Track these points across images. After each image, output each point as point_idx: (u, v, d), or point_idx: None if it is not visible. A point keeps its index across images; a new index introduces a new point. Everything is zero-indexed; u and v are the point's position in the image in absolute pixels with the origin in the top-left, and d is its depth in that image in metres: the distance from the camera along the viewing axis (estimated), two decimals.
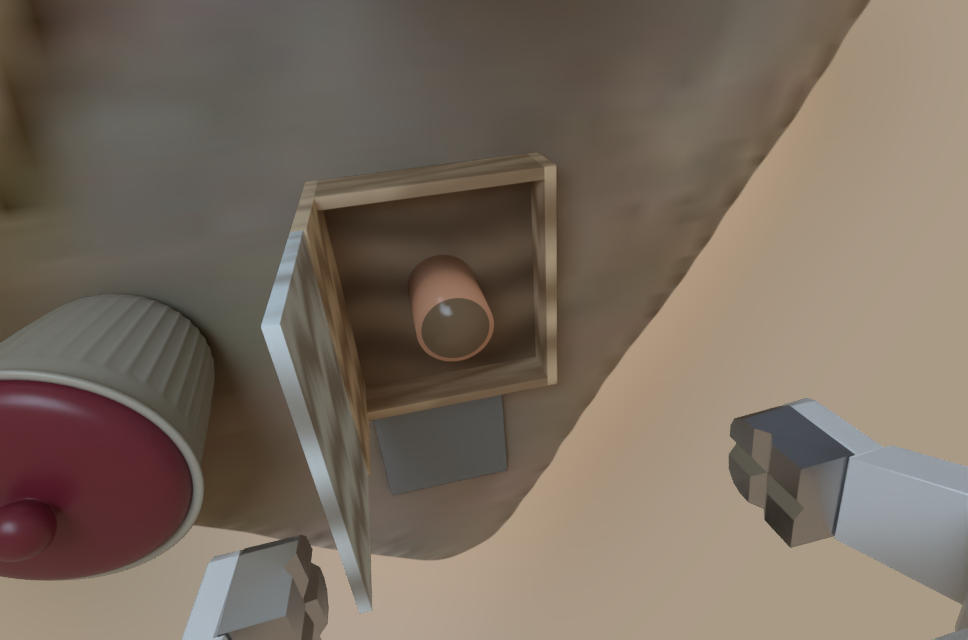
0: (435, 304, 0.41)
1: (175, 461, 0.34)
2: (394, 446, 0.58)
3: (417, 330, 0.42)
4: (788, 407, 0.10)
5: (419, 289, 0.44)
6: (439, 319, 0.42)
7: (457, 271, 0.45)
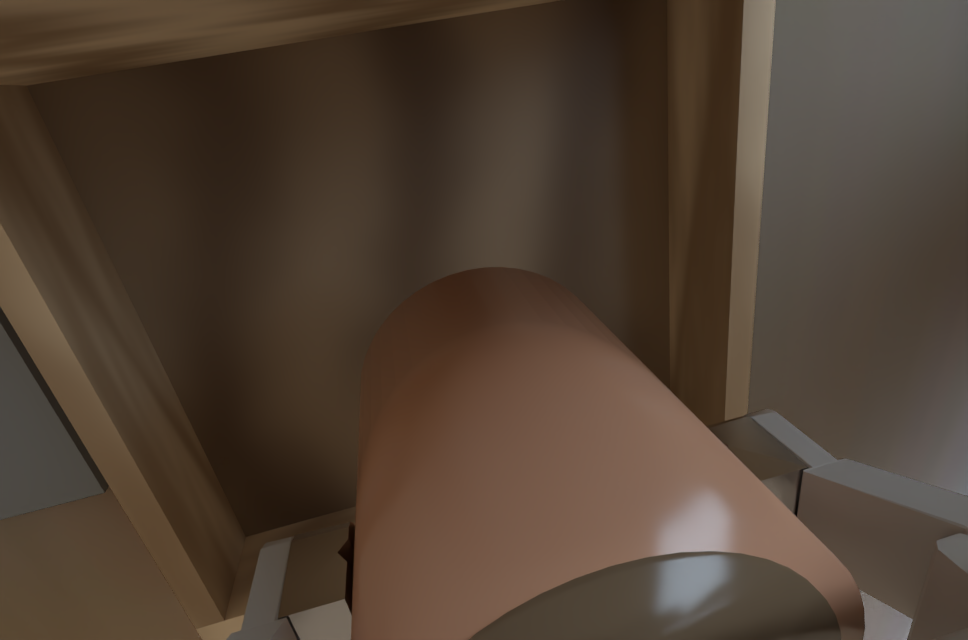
0: (829, 593, 0.06)
1: None
2: None
3: (654, 533, 0.05)
4: (747, 418, 0.09)
5: (648, 373, 0.09)
6: None
7: None
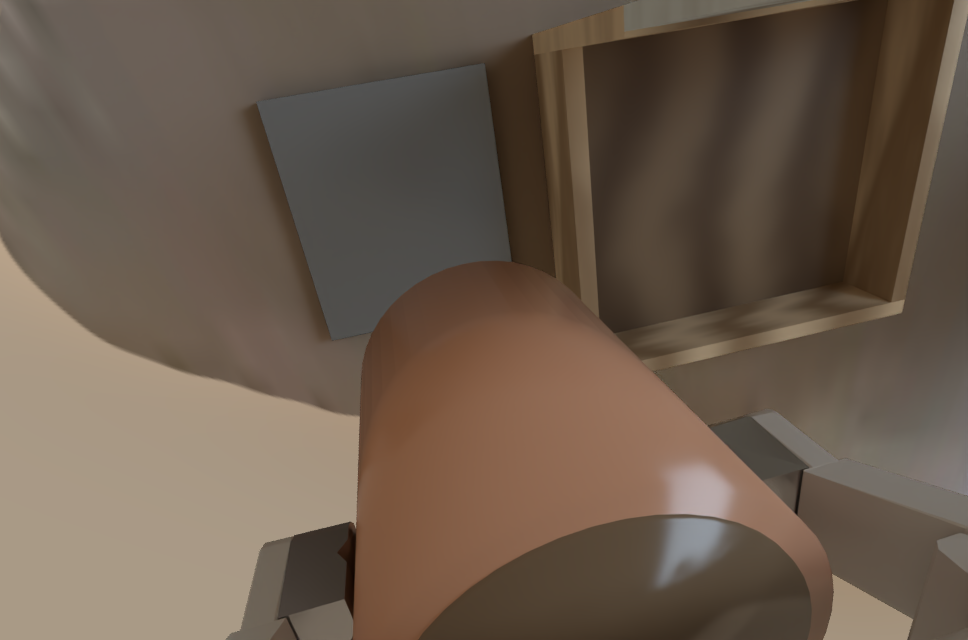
0: (797, 557, 0.06)
1: None
2: (405, 108, 0.28)
3: (631, 496, 0.05)
4: (748, 418, 0.09)
5: (635, 359, 0.09)
6: (698, 602, 0.06)
7: None
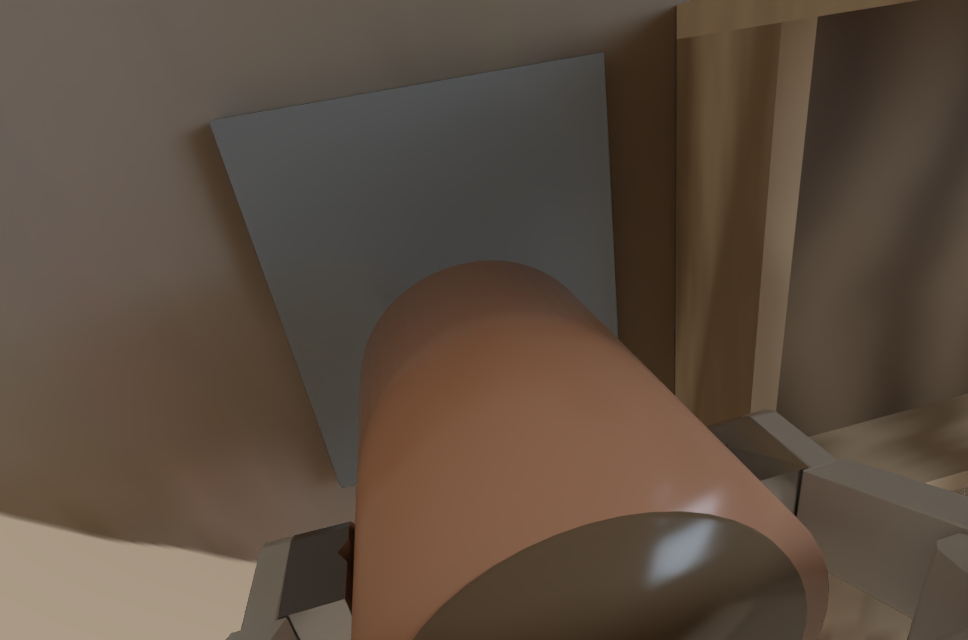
0: (793, 554, 0.06)
1: None
2: (468, 129, 0.16)
3: (627, 493, 0.05)
4: (747, 418, 0.09)
5: (633, 358, 0.09)
6: (694, 598, 0.06)
7: None
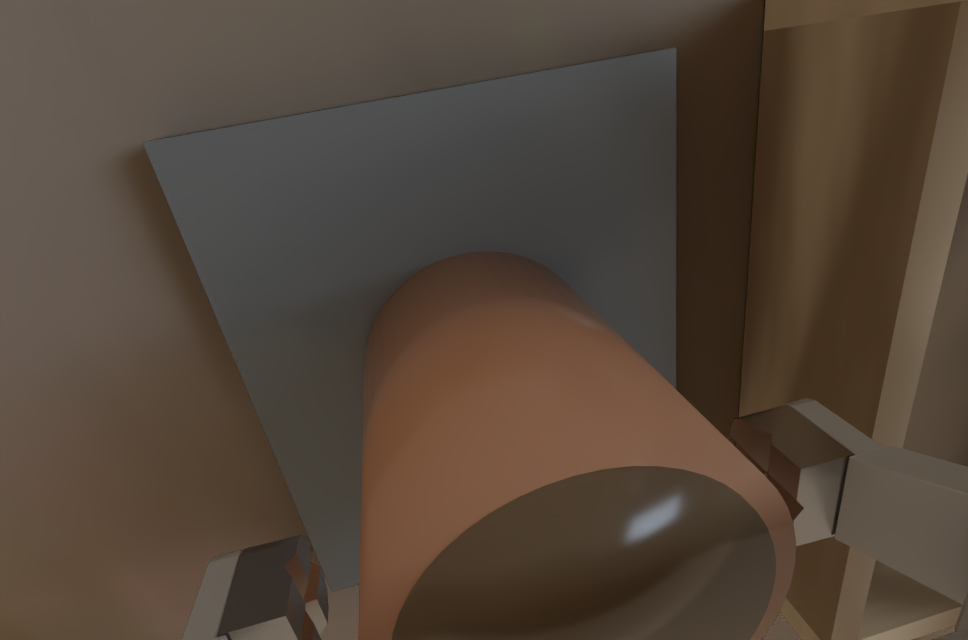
0: (761, 509, 0.07)
1: None
2: (496, 150, 0.12)
3: (608, 448, 0.06)
4: (787, 407, 0.10)
5: (620, 338, 0.10)
6: (671, 548, 0.07)
7: None
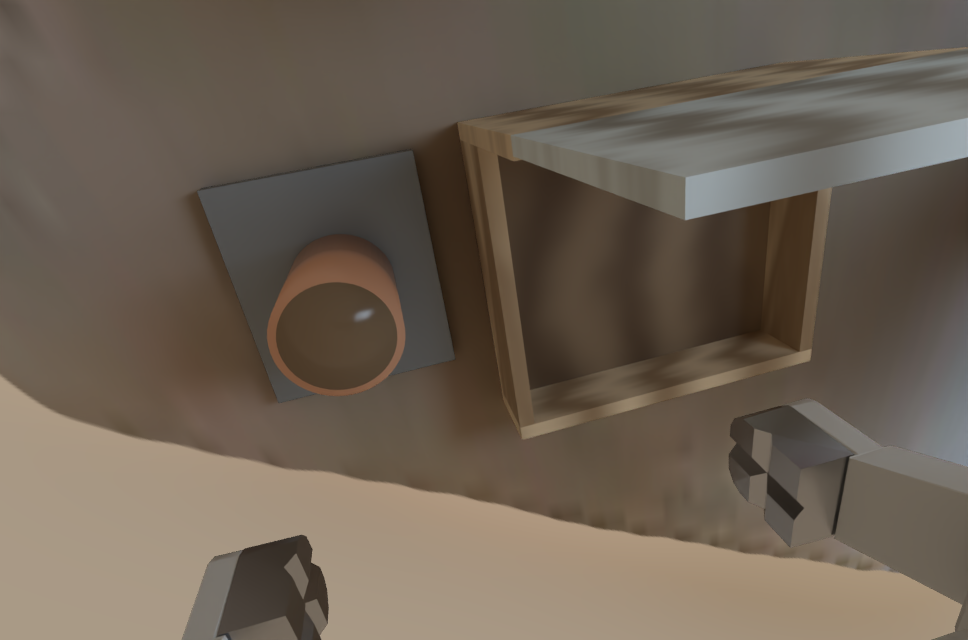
0: (383, 299, 0.25)
1: None
2: (340, 191, 0.30)
3: (329, 276, 0.24)
4: (788, 407, 0.10)
5: (370, 261, 0.28)
6: (355, 309, 0.25)
7: None
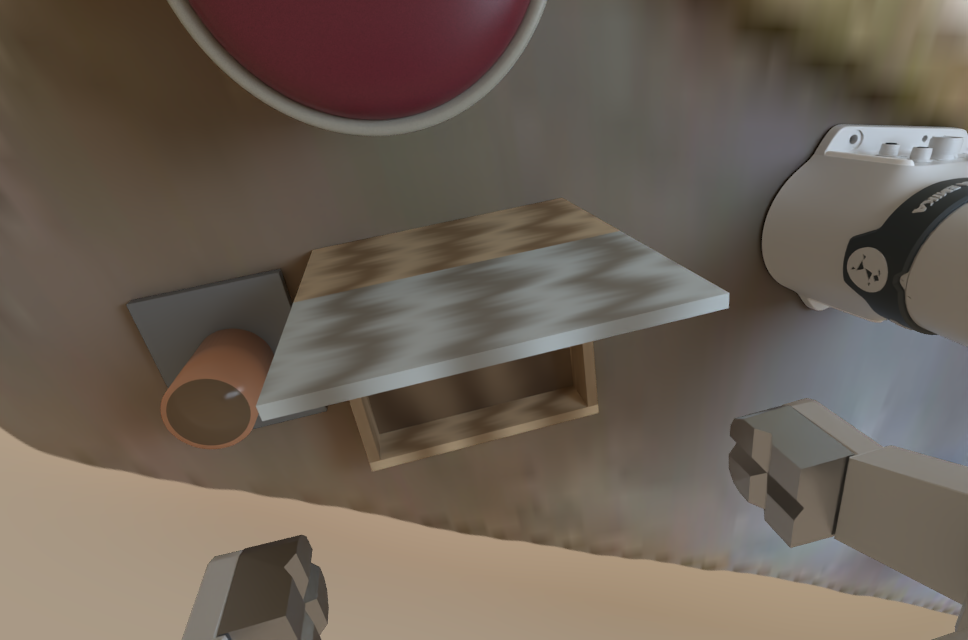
0: (237, 388, 0.38)
1: (412, 111, 0.25)
2: (227, 301, 0.43)
3: (197, 375, 0.37)
4: (788, 407, 0.10)
5: (239, 355, 0.40)
6: (218, 395, 0.37)
7: None
